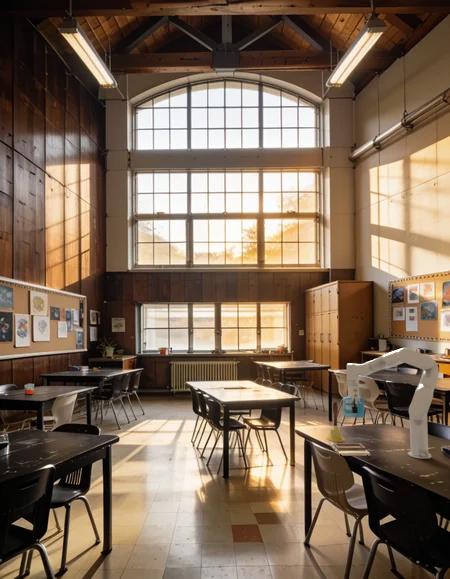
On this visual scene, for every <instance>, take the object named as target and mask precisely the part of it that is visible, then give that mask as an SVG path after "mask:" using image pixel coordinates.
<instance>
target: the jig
mask: <svg viewBox="0 0 450 579" xmlns="http://www.w3.org/2000/svg"><path fill="white" fill-rule="evenodd" d="M329 446H330V447H331V448H332V450H334V451H335V453H337V454H338V453H339V454H341V455H342V457H343V456H348V457H349V456H351V457H352V456H355V457H356V456H360V457H361V456H365V457H366V456H367V455H368V456H371V452H369V451H368V450H367V449H366V447H365V445H363V444H362V443H360V442H358V443H357V442H356V443H352V442H351V443H350V442H349V443H348V442H347V443H346V442H345V443H344V442H334V443H333V442H331V443H330V444H329ZM339 454H338V455H339Z"/></svg>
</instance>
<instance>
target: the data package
mask: <svg viewBox="0 0 450 579" xmlns="http://www.w3.org/2000/svg"><path fill="white" fill-rule="evenodd" d="M359 397H360V401H359V402H358V403H357V412H358V413H352V407H353V405H352V401H351V398H350V397H348V396H344V397H343V399H342V409H343V410H342V413H343V415H344V417H345V418H363V417H364V416H365V404H364V403H365V402H364V401H365V400H364V398H362V397H361V396H359Z"/></svg>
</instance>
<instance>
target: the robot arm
mask: <svg viewBox="0 0 450 579" xmlns="http://www.w3.org/2000/svg"><path fill="white" fill-rule="evenodd" d="M404 363H405V364H408V365H410V366H412V367H415V368H418V369H420V370H422V374H421V377H420V380H419V383H418V385H417V387H416V389H415V392H414V394H413V397H412V400H411V403H410V405H409V407H408V414H409V439H410V442H409V443H410V445H409V446H410V451H408V452H407V455H408V456H409V457H411V458H414V459H415V458H416V459H421V460H425V459H431V458H432V454H431V453H429V436H428V412H429V409H430V408H431V407H430V406H431V404H432V401H433V398H434V391H435V388H436V385H437V381H438V379H439V371H440V369H439V366H438V363H437V362H436V360H435V359H434V358H433V357H432V356H430V355H429V354H427V353H421V352H418V351H415V350H412V349H411V348H409V347H402V348H401V347H400V348H399V349H395V350H394V351H391V352H388V353H385V354H382V355H381V356H378V357H377V358H374V359H373V360H369V361H366V362H364V363H356V362H353V363H352V362H351V363H347V364H346V386H347V397H350V398H351V401H352V405H353V407H352V413H358V412H357V403H358V402H359V401H360V397H361V396H360V388H359V387H360V376H363V377H367V376H369V375H371V374H373V373H376V372H379V371H381V370H386V369H387V370H388V369H390V368H393V367H396V366H399V365H401V364H404Z"/></svg>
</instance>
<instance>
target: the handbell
mask: <svg viewBox="0 0 450 579" xmlns="http://www.w3.org/2000/svg"><path fill="white" fill-rule="evenodd" d="M338 408H339V406H338V402H337V401H334V402H333V404H332V413H333V427H331V428H330V434H329V435H328V436H327V437H326V440H327V441H329V442H332V443H333V442H334V443H344V442H345V441H346V439H345V438H344V437H343V436H342V435H341V434H342V431H341V428H339V427H338V413H339V409H338Z"/></svg>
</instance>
